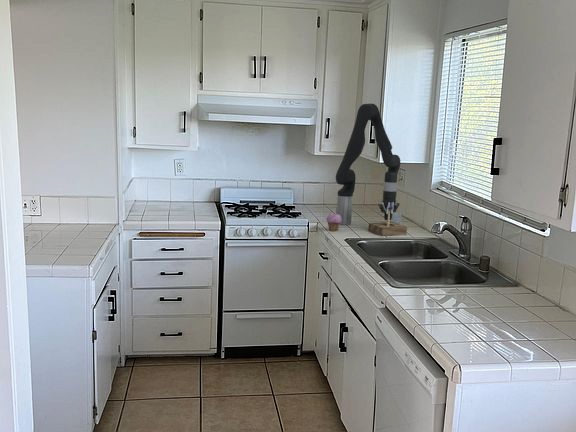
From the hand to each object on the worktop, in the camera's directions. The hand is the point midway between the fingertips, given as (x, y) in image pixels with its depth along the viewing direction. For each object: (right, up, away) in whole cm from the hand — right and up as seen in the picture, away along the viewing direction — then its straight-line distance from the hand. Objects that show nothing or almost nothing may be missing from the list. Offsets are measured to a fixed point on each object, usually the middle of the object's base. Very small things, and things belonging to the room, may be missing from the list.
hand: (387, 219), depth 335 cm
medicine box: (+7, -5, +19) cm, 21 cm away
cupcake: (-31, -6, +2) cm, 32 cm away
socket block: (0, -7, +1) cm, 8 cm away
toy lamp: (0, -6, +1) cm, 6 cm away
